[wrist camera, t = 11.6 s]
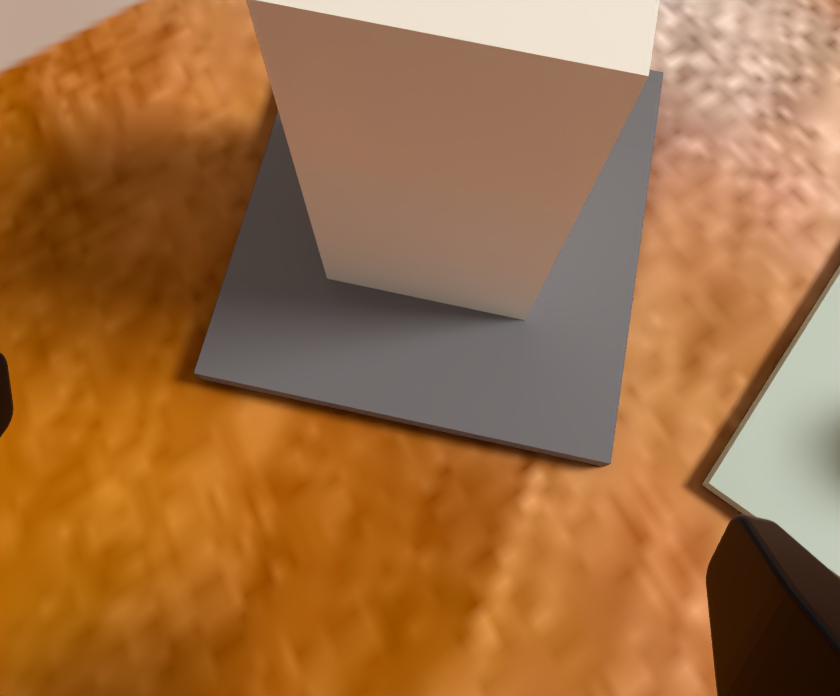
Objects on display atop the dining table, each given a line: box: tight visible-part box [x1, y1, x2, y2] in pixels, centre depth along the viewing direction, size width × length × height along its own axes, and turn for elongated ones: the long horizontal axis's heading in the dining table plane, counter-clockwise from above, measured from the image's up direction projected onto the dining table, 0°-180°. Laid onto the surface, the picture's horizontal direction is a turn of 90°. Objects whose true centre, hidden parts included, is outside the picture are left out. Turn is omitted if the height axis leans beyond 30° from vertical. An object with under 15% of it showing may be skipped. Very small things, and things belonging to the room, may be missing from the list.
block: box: [246, 0, 660, 320], centre depth 13 cm, size 5×5×9 cm
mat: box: [194, 70, 663, 467], centre depth 18 cm, size 11×10×1 cm
